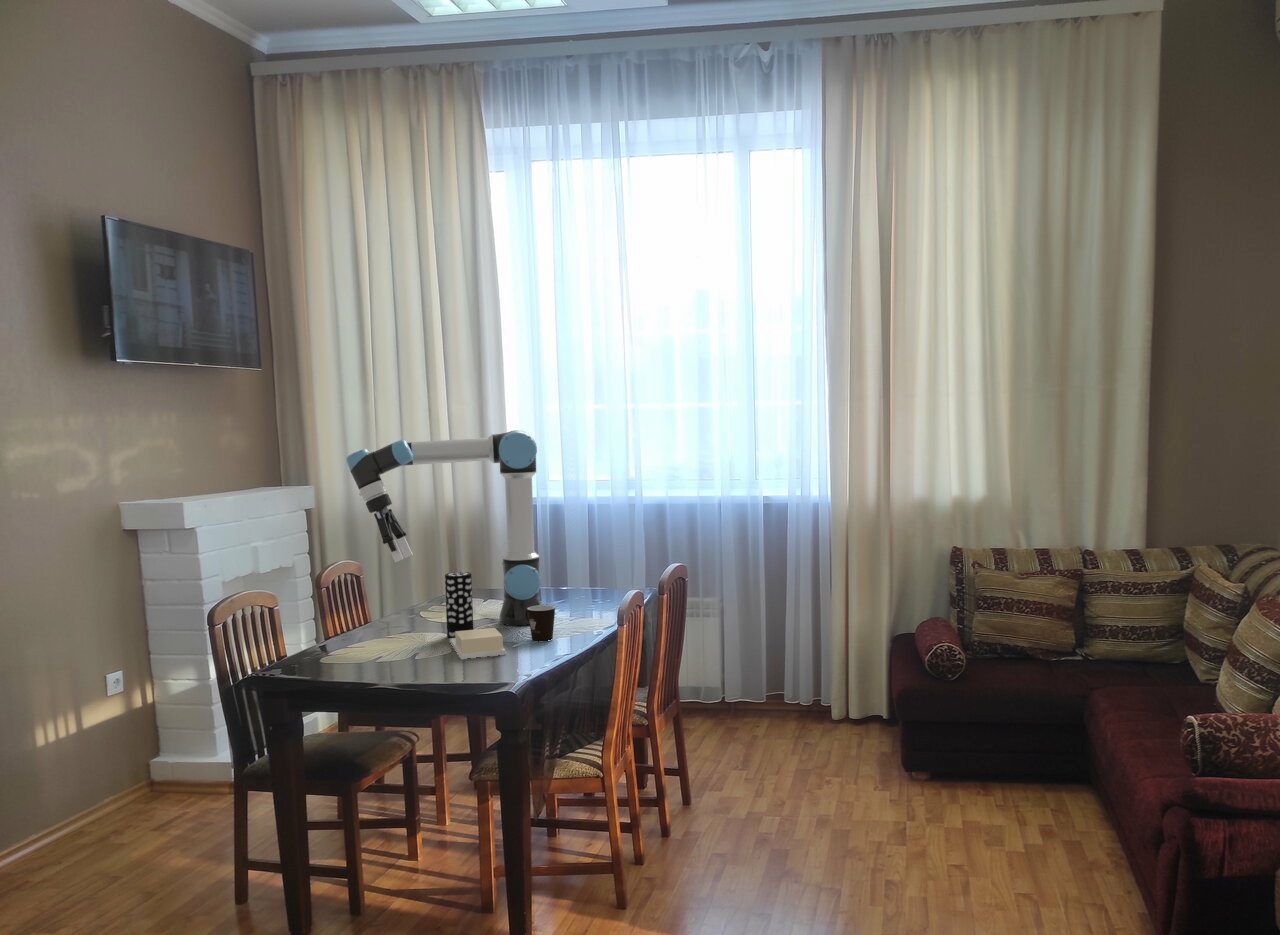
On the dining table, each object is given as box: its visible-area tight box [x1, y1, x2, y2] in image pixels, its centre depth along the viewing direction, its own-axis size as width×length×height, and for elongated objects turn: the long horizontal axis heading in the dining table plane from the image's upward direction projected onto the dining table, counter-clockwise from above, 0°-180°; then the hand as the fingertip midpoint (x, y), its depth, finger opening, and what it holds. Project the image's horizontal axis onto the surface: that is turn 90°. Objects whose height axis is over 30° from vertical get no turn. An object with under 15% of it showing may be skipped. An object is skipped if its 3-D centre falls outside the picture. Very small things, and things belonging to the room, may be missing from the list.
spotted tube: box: [444, 571, 474, 639], centre depth 321 cm, size 8×8×20 cm
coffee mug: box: [526, 604, 556, 643], centre depth 315 cm, size 12×9×10 cm
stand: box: [449, 627, 506, 660], centre depth 304 cm, size 13×22×6 cm, turn 19°
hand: (404, 558), depth 319 cm, fingers open, 13 cm apart
